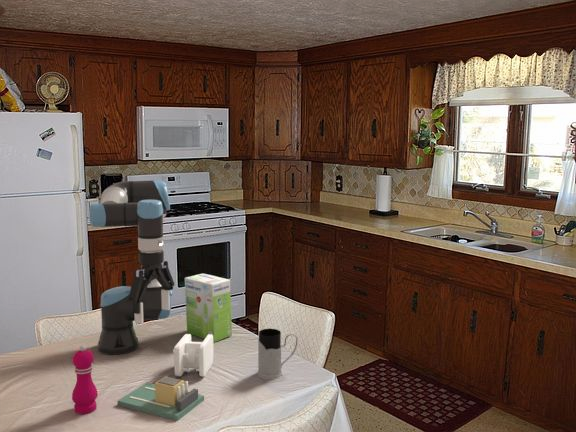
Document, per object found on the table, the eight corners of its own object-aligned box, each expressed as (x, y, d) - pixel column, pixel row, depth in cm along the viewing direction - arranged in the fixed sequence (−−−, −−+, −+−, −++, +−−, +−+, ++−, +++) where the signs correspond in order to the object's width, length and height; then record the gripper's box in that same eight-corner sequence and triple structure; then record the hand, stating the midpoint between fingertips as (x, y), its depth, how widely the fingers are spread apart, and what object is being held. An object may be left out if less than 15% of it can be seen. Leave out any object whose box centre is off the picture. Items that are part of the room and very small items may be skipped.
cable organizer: (203, 381, 186) (203, 348, 184) (172, 379, 187) (172, 346, 185) (214, 363, 201) (213, 332, 199) (185, 362, 202) (185, 331, 200)
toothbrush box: (185, 333, 232) (184, 276, 228) (204, 326, 239) (203, 272, 236) (213, 343, 220) (212, 284, 217) (232, 336, 228) (231, 279, 224)
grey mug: (254, 369, 195) (254, 329, 193) (293, 366, 199) (294, 325, 197) (259, 380, 187) (259, 337, 185) (300, 376, 190) (300, 334, 188)
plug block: (155, 401, 168) (155, 381, 167) (165, 394, 173) (165, 375, 172) (174, 406, 165) (174, 386, 164) (184, 399, 170) (183, 379, 169)
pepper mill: (76, 404, 169) (73, 341, 167) (100, 403, 170) (98, 340, 167) (69, 415, 162) (66, 350, 159) (94, 414, 163) (91, 349, 160)
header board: (117, 405, 169) (116, 382, 168) (147, 386, 181) (146, 365, 180) (177, 420, 160) (176, 396, 159) (204, 400, 172) (203, 377, 171)
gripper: (134, 260, 158) (137, 331, 161) (184, 243, 180) (185, 305, 184) (113, 257, 161) (116, 327, 164) (165, 241, 183) (166, 302, 187)
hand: (152, 316), depth 174 cm, fingers open, 13 cm apart
